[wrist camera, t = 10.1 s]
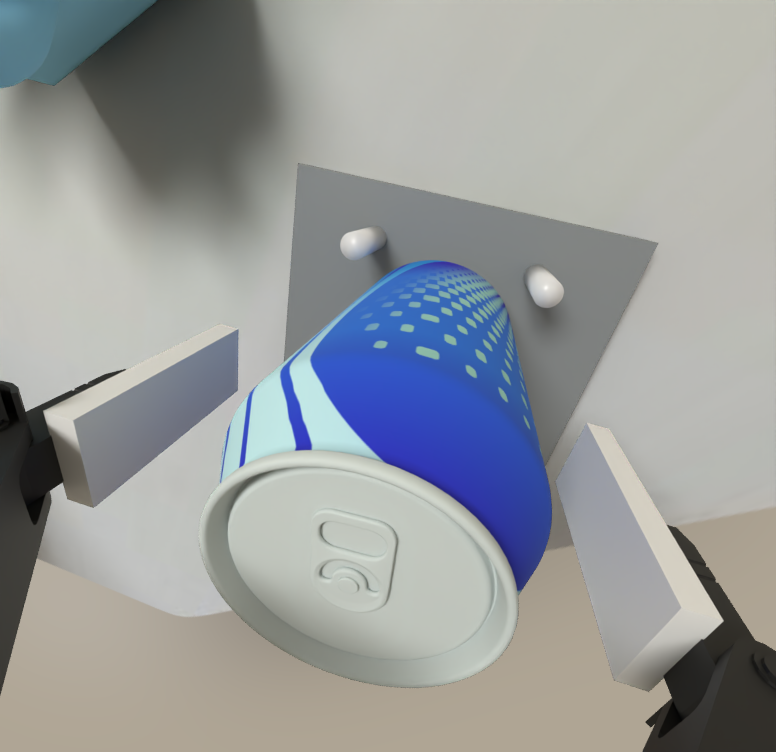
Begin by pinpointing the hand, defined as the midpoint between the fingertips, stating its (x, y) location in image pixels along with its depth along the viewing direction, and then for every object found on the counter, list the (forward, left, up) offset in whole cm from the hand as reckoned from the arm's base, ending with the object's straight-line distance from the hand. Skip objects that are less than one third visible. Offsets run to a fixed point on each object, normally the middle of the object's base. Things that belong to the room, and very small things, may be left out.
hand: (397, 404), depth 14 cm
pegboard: (0, 0, -10) cm, 10 cm away
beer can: (0, 0, -9) cm, 9 cm away
